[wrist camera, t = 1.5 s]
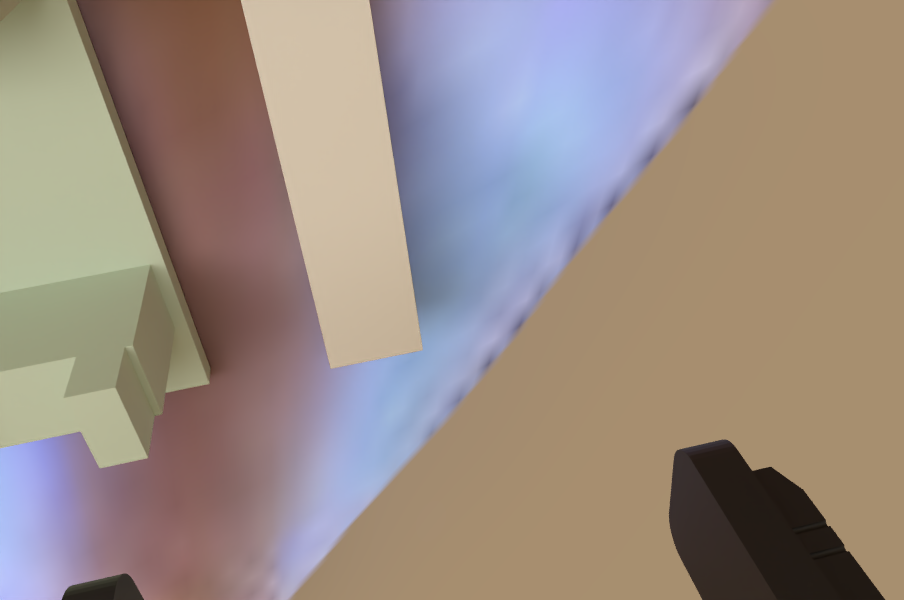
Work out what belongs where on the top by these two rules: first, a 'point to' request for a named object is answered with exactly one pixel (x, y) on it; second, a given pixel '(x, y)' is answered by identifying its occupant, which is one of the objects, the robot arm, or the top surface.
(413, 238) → the top surface
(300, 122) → the clay strip
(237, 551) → the top surface
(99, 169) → the sage green peg rail
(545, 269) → the top surface
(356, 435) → the top surface
